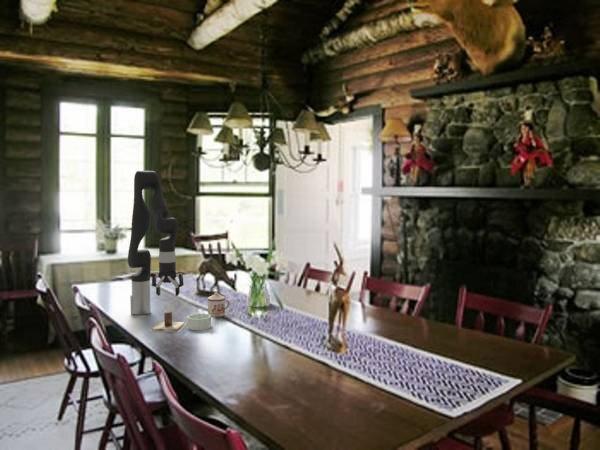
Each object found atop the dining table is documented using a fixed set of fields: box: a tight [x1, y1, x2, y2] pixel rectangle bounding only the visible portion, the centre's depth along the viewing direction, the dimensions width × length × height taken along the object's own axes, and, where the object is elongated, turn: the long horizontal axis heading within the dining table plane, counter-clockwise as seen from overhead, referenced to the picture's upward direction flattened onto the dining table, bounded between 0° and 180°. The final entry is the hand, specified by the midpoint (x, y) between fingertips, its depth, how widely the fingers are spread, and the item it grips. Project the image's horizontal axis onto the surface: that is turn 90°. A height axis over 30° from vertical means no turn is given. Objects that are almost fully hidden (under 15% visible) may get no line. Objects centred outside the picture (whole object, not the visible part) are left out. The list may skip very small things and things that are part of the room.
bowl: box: [186, 312, 212, 331], centre depth 243 cm, size 11×11×6 cm
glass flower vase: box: [246, 282, 271, 307], centre depth 290 cm, size 13×13×18 cm
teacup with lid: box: [206, 292, 231, 318], centre depth 267 cm, size 12×9×12 cm
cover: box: [150, 311, 186, 332], centre depth 242 cm, size 12×12×7 cm
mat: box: [148, 323, 187, 333], centre depth 242 cm, size 14×14×1 cm
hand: (168, 295), depth 241 cm, fingers open, 8 cm apart
